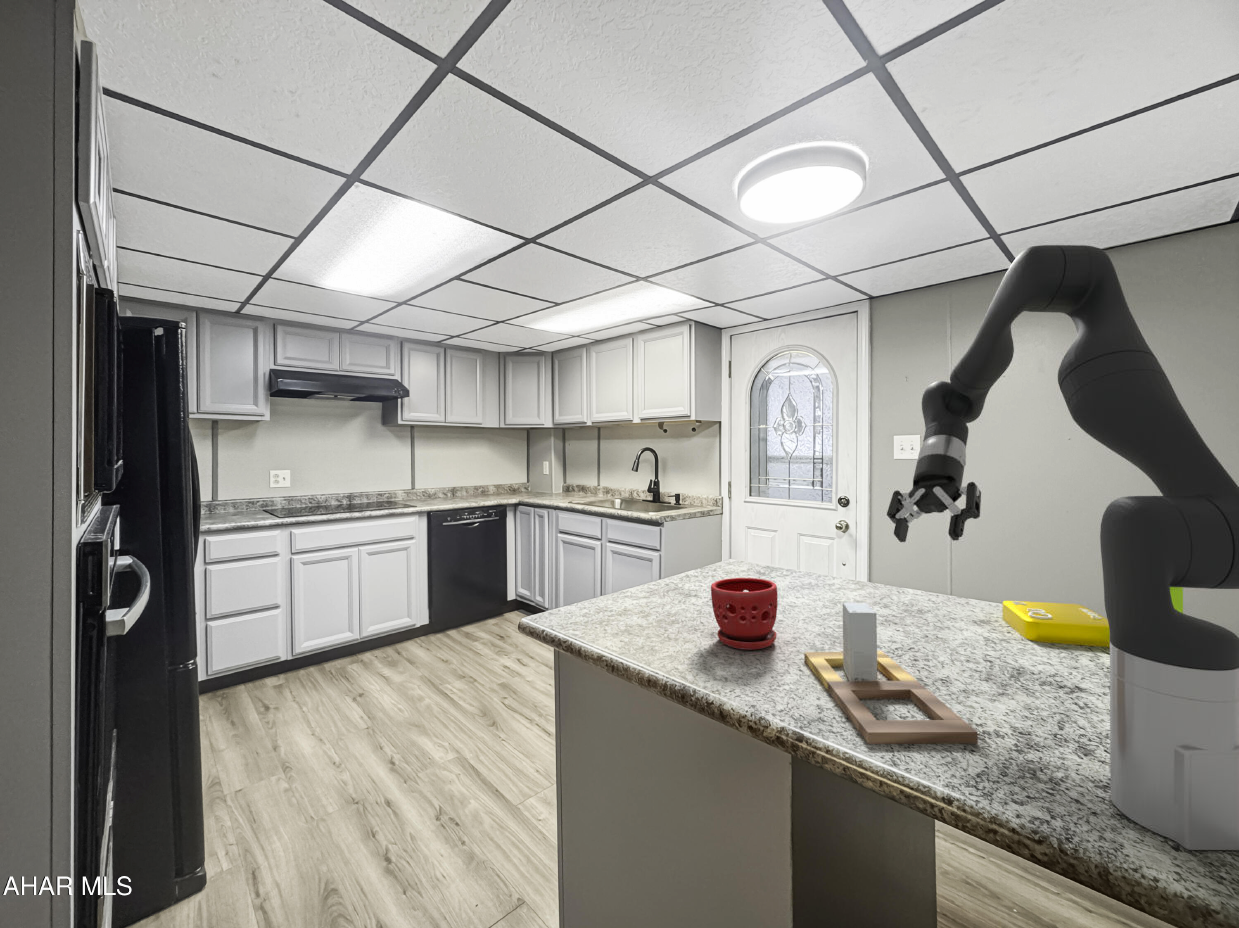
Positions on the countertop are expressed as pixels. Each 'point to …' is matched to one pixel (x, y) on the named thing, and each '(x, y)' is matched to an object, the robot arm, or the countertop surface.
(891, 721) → the double wooden frame
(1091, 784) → the countertop surface
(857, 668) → the skincare box
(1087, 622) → the element tile
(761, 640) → the plant pot
